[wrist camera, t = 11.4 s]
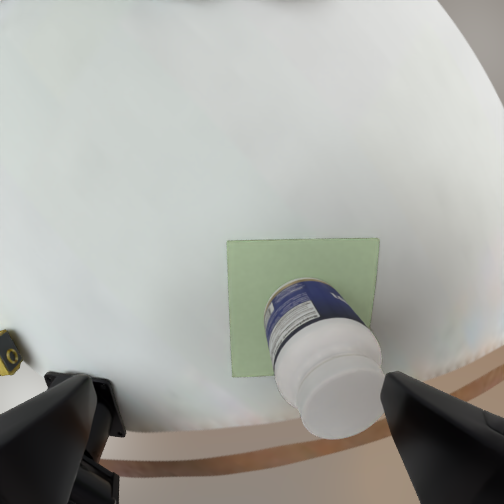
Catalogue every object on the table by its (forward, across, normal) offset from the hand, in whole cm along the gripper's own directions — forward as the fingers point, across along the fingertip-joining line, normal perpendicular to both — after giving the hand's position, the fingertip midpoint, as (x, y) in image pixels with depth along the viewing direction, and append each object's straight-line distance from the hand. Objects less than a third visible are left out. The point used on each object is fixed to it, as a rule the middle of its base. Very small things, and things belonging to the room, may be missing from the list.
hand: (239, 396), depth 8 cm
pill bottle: (+12, -4, +3) cm, 13 cm away
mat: (+12, -5, +3) cm, 13 cm away
